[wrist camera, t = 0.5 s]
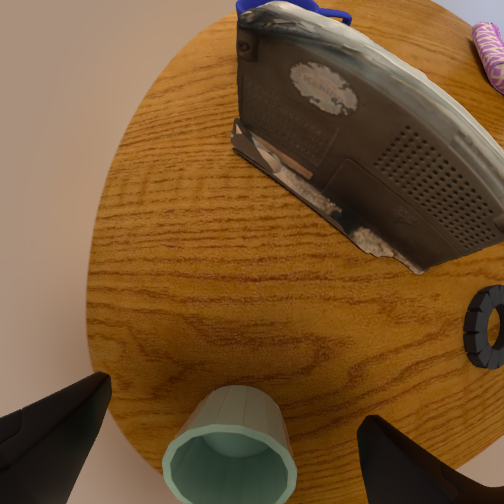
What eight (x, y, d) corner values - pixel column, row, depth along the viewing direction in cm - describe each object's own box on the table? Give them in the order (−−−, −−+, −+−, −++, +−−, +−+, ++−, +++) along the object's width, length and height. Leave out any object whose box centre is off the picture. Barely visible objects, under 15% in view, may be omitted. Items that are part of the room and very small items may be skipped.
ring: (516, 320, 21) (527, 319, 19) (484, 382, 19) (495, 384, 17) (486, 271, 22) (498, 267, 20) (451, 335, 21) (463, 335, 19)
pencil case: (514, 108, 29) (537, 82, 19) (483, 83, 29) (505, 53, 20) (490, 54, 33) (505, 32, 24) (462, 35, 34) (475, 11, 25)
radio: (452, 246, 23) (560, 190, 8) (413, 313, 22) (546, 296, 7) (284, 102, 27) (296, -18, 12) (226, 147, 26) (203, 13, 11)
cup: (301, 424, 20) (323, 477, 11) (238, 472, 19) (229, 533, 10) (239, 367, 21) (227, 398, 12) (177, 418, 20) (138, 465, 11)
